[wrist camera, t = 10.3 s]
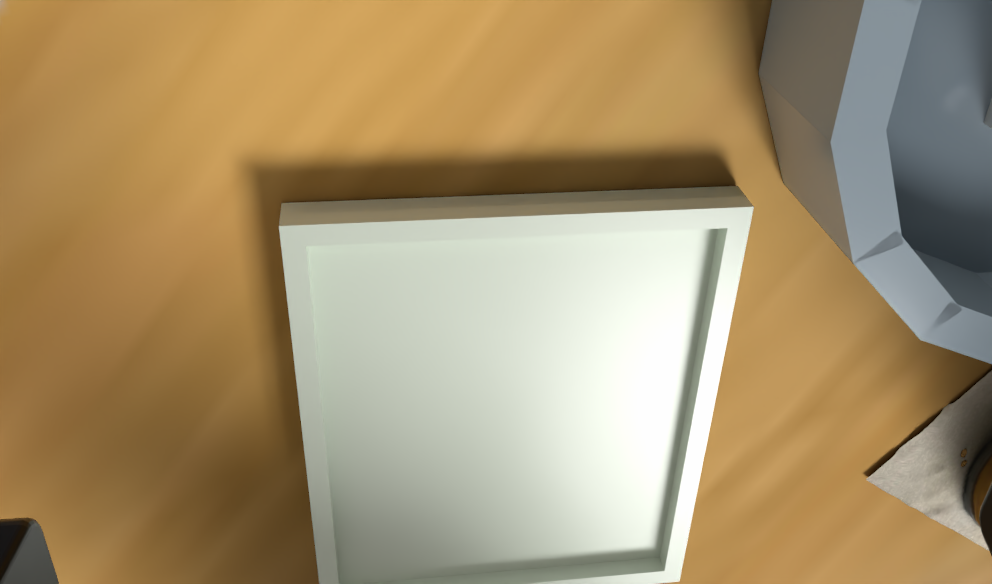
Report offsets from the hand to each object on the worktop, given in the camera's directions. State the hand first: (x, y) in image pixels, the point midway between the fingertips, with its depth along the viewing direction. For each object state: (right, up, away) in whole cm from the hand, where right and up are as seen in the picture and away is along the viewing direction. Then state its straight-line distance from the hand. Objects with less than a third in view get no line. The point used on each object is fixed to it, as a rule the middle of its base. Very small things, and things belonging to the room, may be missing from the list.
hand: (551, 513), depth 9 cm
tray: (0, -1, +15) cm, 15 cm away
